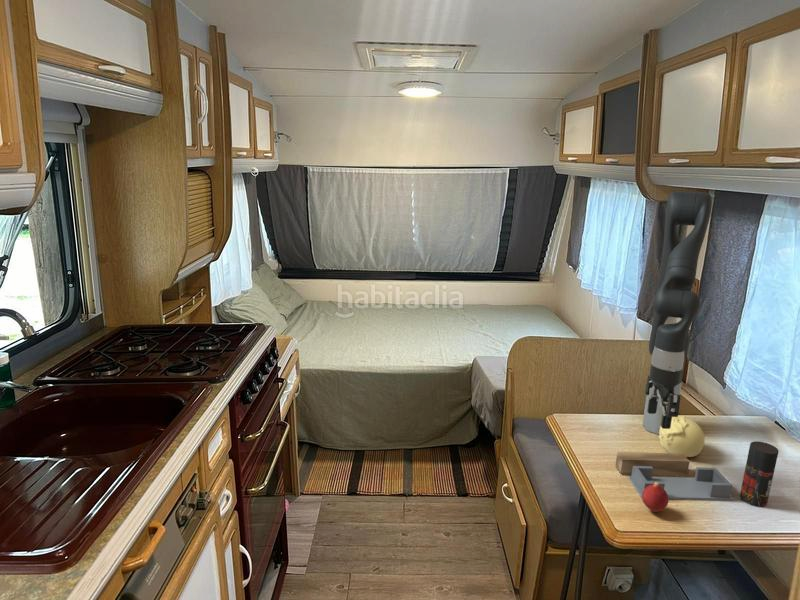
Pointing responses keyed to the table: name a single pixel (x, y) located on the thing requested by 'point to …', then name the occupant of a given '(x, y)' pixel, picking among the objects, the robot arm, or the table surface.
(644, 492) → the onion
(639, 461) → the slat
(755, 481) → the deodorant
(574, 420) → the table surface
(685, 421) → the sculpture
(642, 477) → the endcaps
